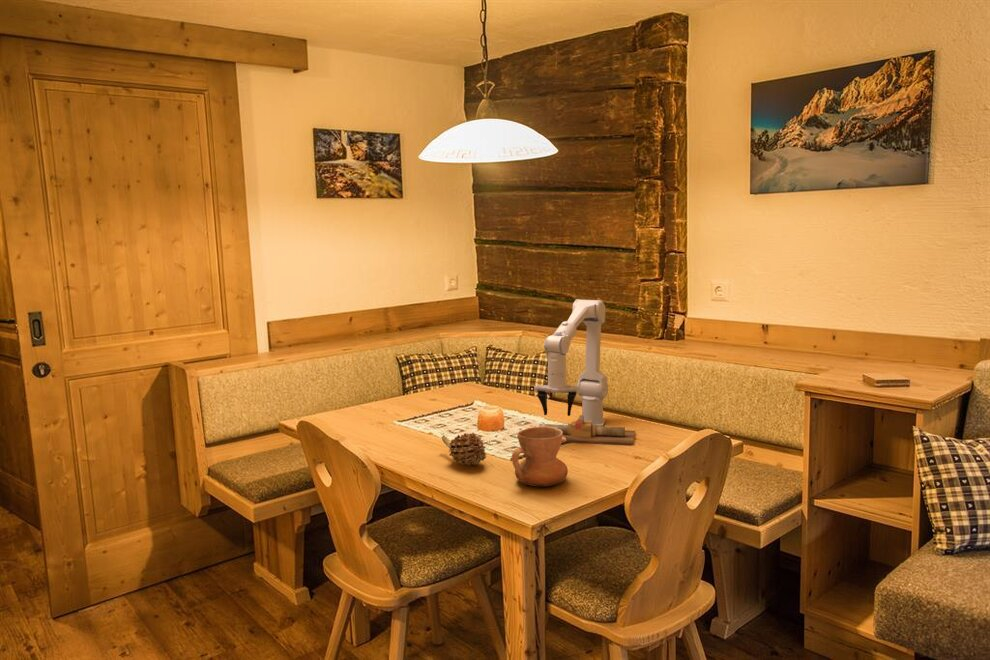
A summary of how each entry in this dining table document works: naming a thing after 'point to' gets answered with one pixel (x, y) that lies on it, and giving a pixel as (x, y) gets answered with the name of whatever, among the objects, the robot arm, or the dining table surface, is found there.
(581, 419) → the valve lever
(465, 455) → the pine cone
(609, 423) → the dining table surface
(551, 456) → the ceramic jug
